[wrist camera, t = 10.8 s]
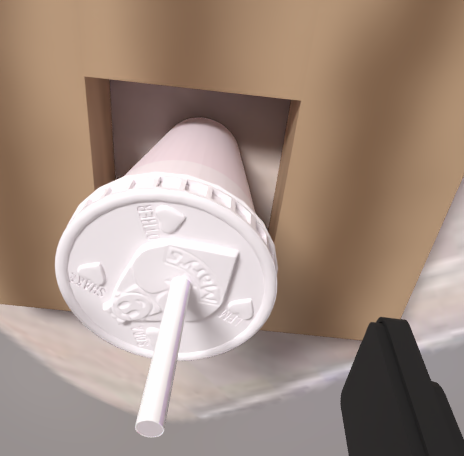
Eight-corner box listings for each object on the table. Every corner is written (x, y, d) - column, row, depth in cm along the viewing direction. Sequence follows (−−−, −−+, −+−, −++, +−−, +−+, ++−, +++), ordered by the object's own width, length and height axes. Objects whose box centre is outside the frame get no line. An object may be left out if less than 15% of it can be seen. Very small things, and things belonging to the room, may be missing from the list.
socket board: (494, -6, 16) (541, -1, 13) (375, 303, 24) (389, 343, 22) (-87, -75, 15) (-154, -83, 13) (0, 265, 24) (-30, 301, 21)
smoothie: (291, 175, 20) (349, 472, 8) (185, 232, 22) (111, 535, 10) (219, 57, 17) (154, 253, 6) (105, 134, 19) (-118, 397, 8)
